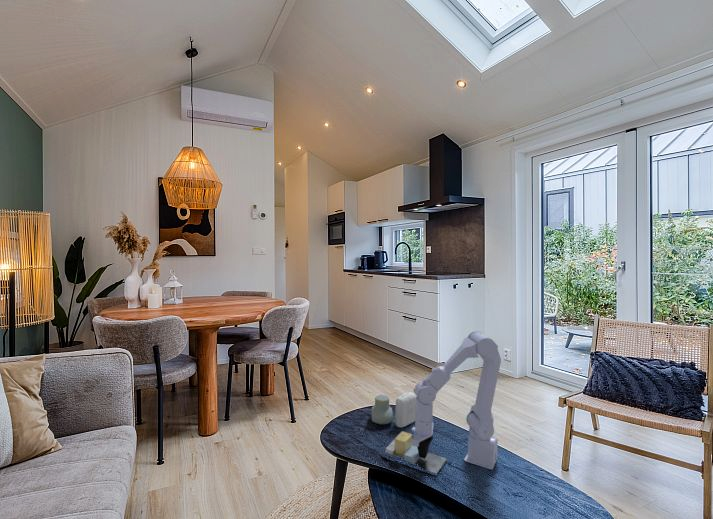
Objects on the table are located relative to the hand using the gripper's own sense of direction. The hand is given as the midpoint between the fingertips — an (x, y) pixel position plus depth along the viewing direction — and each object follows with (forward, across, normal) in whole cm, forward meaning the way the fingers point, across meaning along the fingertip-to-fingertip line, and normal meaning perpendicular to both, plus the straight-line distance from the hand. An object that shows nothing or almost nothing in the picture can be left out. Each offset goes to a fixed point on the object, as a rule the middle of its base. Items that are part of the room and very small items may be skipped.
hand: (422, 456), depth 135 cm
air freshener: (+2, -18, -25) cm, 31 cm away
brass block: (+1, 0, -7) cm, 7 cm away
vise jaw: (+1, 0, -3) cm, 3 cm away
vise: (+2, 0, -3) cm, 4 cm away
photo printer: (+2, -22, -16) cm, 27 cm away
